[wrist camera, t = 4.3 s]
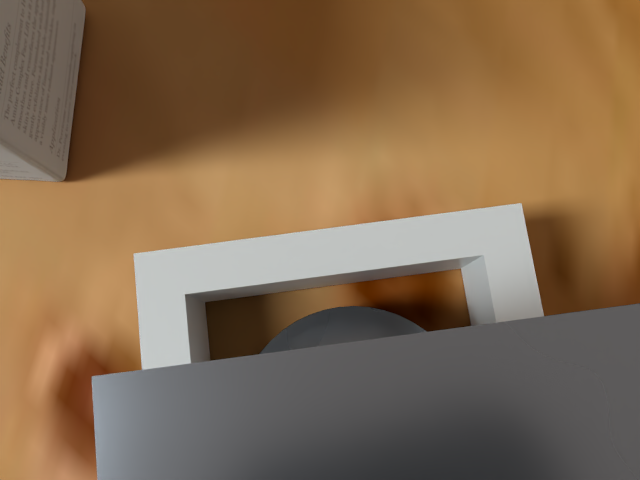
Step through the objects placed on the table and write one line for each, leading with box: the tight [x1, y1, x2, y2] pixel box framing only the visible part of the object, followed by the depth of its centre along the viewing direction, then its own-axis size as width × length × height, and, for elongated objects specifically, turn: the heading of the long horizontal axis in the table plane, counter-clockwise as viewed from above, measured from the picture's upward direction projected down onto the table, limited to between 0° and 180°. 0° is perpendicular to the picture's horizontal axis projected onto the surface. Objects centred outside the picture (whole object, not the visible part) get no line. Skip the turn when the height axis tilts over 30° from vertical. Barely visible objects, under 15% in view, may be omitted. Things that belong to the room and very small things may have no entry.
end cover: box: [92, 304, 640, 480], centre depth 10 cm, size 6×6×13 cm
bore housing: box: [134, 203, 544, 370], centre depth 15 cm, size 10×10×2 cm
